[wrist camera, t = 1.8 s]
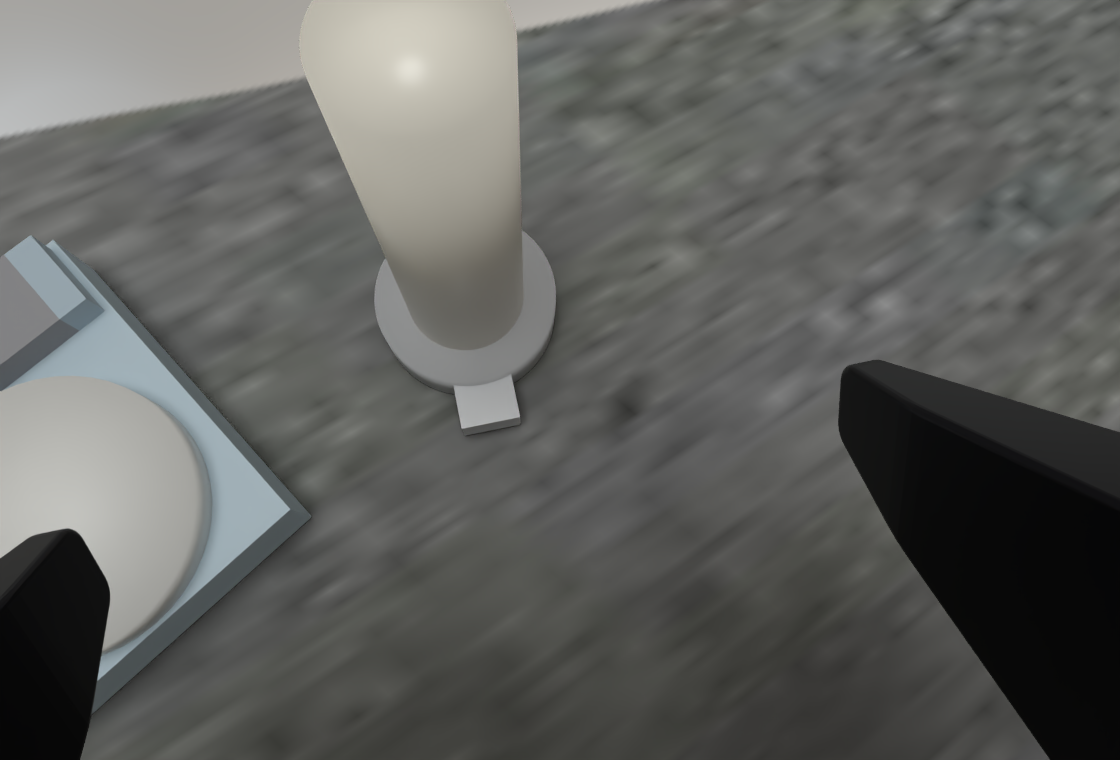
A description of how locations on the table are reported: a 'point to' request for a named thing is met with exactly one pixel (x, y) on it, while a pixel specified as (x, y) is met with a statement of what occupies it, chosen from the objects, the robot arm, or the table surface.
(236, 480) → the grey socket base
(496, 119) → the crank handle
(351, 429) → the table surface
